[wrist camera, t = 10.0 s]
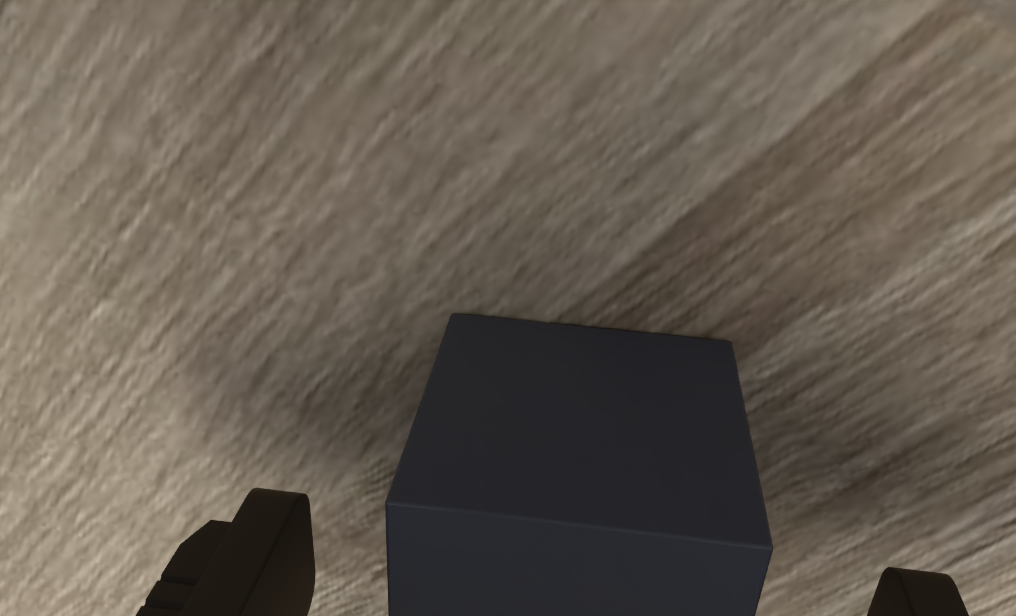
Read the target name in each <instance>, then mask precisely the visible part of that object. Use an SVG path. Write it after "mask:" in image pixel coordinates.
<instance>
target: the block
mask: <svg viewBox="0 0 1016 616" xmlns="http://www.w3.org/2000/svg"><path fill="white" fill-rule="evenodd" d="M385 511H386V544H387V577H388V611H389V616H755V613H756V610H757V606H758V602H759V599H760V595H761V591H762V588H763V584H764V580H765V577H766V573H767V570H768V566H769V562H770V559H771V555H772V551H773V544H772V539H771V534H770V529H769V524H768V519H767V514H766V509H765V504H764V499H763V495H762V490H761V485H760V480H759V475H758V470H757V465H756V460H755V455H754V450H753V445H752V440H751V435H750V430H749V425H748V420H747V415H746V410H745V405H744V400H743V396H742V391H741V386H740V381H739V376H738V371H737V366H736V361H735V356H734V351H733V346H732V343H731V342H729V341H720V340H710V339H700V338H690V337H680V336H670V335H660V334H650V333H641V332H631V331H621V330H611V329H601V328H591V327H581V326H571V325H562V324H552V323H542V322H532V321H522V320H512V319H502V318H492V317H483V316H473V315H463V314H451V316H450V319H449V322H448V325H447V328H446V330H445V333H444V336H443V339H442V342H441V345H440V347H439V350H438V353H437V356H436V359H435V362H434V365H433V367H432V370H431V373H430V376H429V379H428V382H427V384H426V387H425V390H424V393H423V396H422V399H421V402H420V404H419V407H418V410H417V413H416V416H415V419H414V421H413V424H412V427H411V430H410V433H409V436H408V439H407V441H406V444H405V447H404V450H403V453H402V456H401V458H400V461H399V464H398V467H397V470H396V473H395V476H394V478H393V481H392V484H391V487H390V490H389V493H388V495H387V498H386V501H385Z"/></svg>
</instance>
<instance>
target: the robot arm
mask: <svg viewBox="0 0 1016 616" xmlns="http://www.w3.org/2000/svg"><path fill="white" fill-rule="evenodd" d="M314 585H315V559H314V548H313V536H312V525H311V513H310V503H309V498H308V496H307V495H306V494H304V493H296V492H287V491H279V490H271V489H263V488H254V489H252V490H251V491H250V492H249V493H248V495H247V497H246V498H245V500H244V502H243V503H242V505H241V507H240V509H239V510H238V512H237V514H236V516H235V517H234V519H233V521H232V522H224V521H217V520H210V521H209V522H208V523H206V524H205V525H204V526H203V527H201V528H200V529H199V530H198V531H196V532H195V533H194V534H193V535H191V536H190V537H189V538H188V539H186V540H185V541H184V542H183V543H181V544H180V546H179V547H178V549H177V551H176V552H175V554H174V555H173V557H172V558H171V560H170V562H169V563H168V565H167V566H166V568H165V570H164V571H163V573H162V574H161V580H160V581H157V582H156V584H155V586H154V587H153V589H152V590H151V592H150V593H149V595H148V597H147V598H146V603H145V605H144V606H141V608H140V609H139V611H138V613H137V614H136V616H307V615H308V612H309V609H310V605H311V602H312V597H313V592H314ZM867 616H969V615H968V612H967V610H966V608H965V605H964V603H963V601H962V598H961V596H960V594H959V591H958V589H957V587H956V585H955V583H954V581H953V580H952V578H951V577H950V576H949V575H947V574H943V573H935V572H926V571H918V570H910V569H902V568H894V567H888V568H886V569H885V570H884V571H883V573H882V575H881V577H880V580H879V583H878V586H877V588H876V591H875V594H874V597H873V600H872V602H871V605H870V608H869V611H868V614H867Z"/></svg>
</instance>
